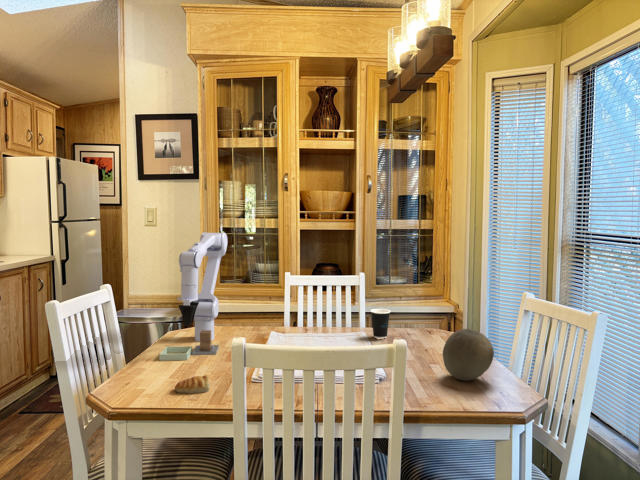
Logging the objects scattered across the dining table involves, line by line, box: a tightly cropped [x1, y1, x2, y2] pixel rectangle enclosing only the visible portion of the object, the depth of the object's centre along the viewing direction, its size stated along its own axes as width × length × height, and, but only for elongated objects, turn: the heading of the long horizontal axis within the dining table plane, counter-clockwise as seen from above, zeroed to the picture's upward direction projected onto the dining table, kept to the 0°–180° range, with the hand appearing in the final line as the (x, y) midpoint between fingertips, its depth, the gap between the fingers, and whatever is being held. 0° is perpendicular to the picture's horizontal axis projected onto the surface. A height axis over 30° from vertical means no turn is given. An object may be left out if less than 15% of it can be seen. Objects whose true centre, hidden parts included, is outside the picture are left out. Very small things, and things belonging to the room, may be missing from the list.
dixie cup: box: [370, 308, 391, 339], centre depth 185 cm, size 8×8×11 cm
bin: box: [158, 345, 193, 362], centre depth 157 cm, size 9×9×3 cm
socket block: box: [191, 344, 220, 356], centre depth 163 cm, size 8×8×2 cm
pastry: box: [174, 374, 210, 394], centre depth 130 cm, size 9×7×4 cm
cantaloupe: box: [442, 328, 495, 382], centre depth 139 cm, size 14×14×15 cm
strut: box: [199, 330, 212, 350], centre depth 163 cm, size 3×3×7 cm
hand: (188, 324), depth 163 cm, fingers open, 7 cm apart
